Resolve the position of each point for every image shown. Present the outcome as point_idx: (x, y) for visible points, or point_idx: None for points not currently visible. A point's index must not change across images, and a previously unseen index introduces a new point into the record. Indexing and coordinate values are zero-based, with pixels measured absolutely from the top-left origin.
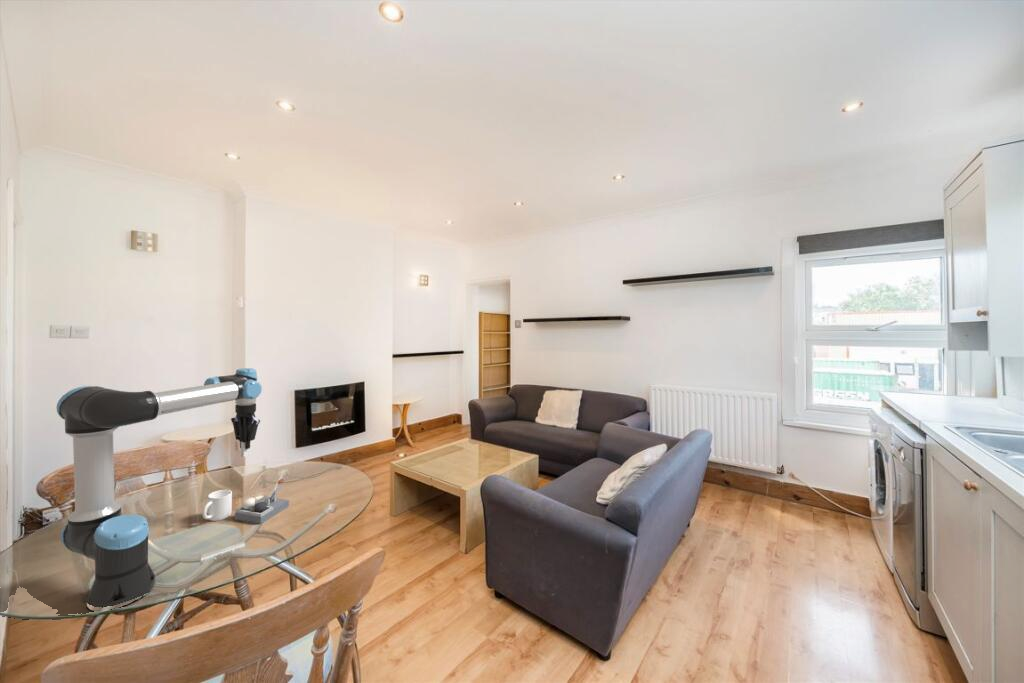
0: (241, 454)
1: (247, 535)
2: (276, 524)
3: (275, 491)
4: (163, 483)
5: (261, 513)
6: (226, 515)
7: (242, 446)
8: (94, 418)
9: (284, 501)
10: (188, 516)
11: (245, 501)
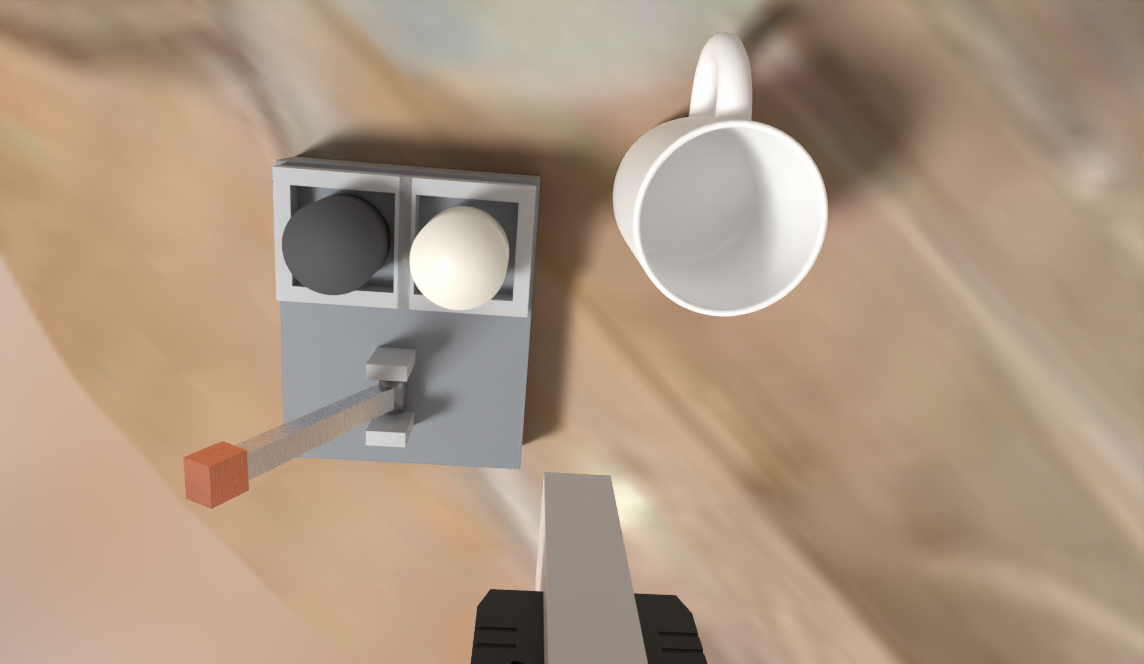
0: (599, 495)
1: None
2: (175, 176)
3: (303, 417)
4: None
5: (278, 179)
6: (615, 179)
7: (590, 604)
8: None
9: None
10: (912, 147)
11: (463, 227)
